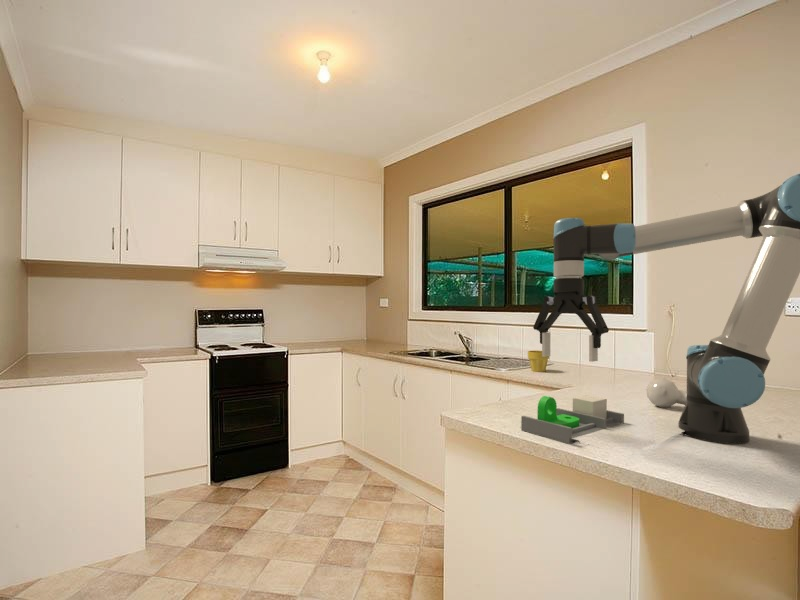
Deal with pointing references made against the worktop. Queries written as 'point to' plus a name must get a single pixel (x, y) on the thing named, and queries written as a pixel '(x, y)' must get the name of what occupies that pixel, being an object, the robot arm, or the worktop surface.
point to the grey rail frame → (567, 433)
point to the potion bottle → (665, 393)
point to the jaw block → (590, 406)
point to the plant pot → (537, 361)
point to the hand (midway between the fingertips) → (568, 358)
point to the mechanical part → (554, 413)
